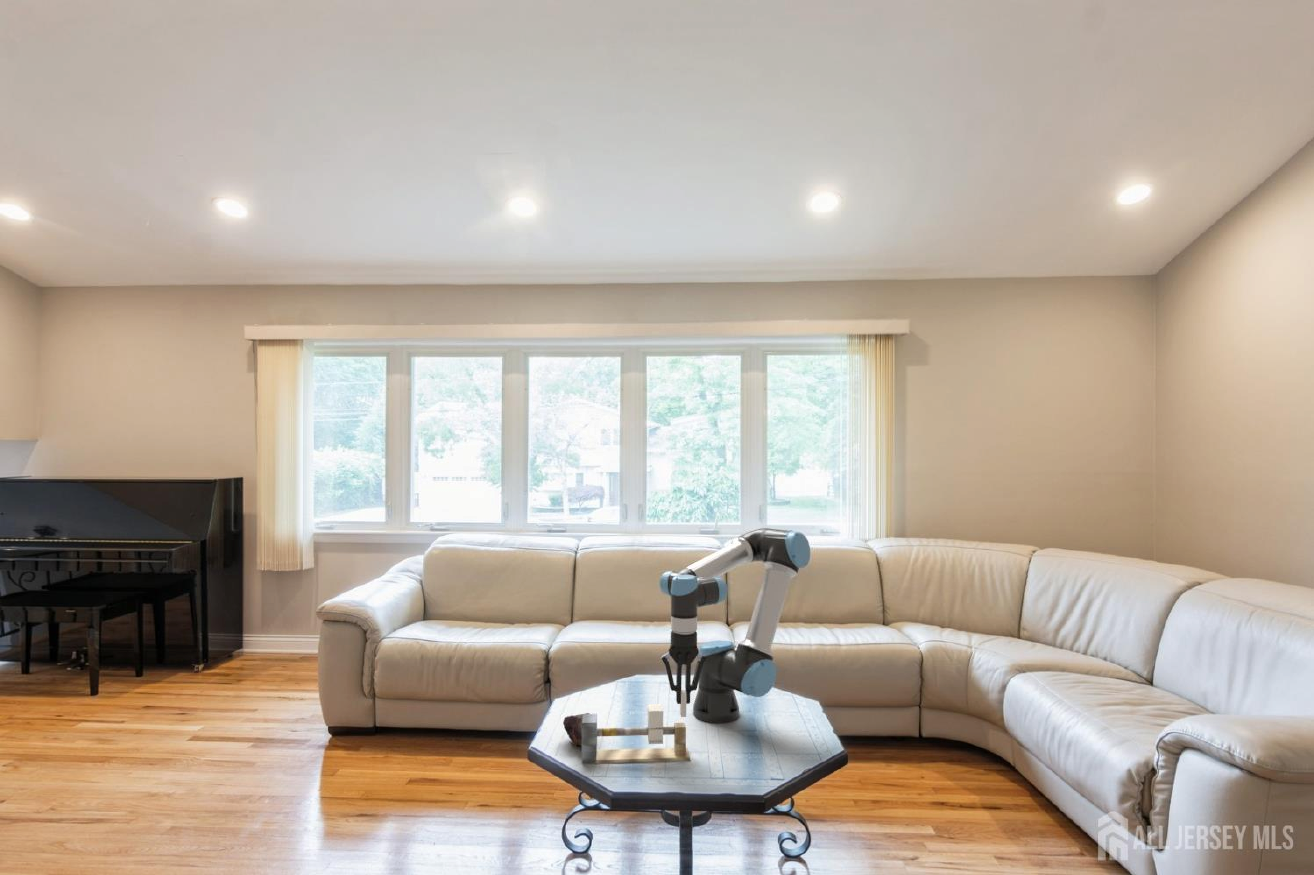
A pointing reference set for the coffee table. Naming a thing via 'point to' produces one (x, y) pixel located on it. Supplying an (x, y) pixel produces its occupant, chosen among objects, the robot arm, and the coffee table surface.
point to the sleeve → (655, 723)
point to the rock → (574, 728)
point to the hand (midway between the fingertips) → (683, 714)
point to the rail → (630, 755)
